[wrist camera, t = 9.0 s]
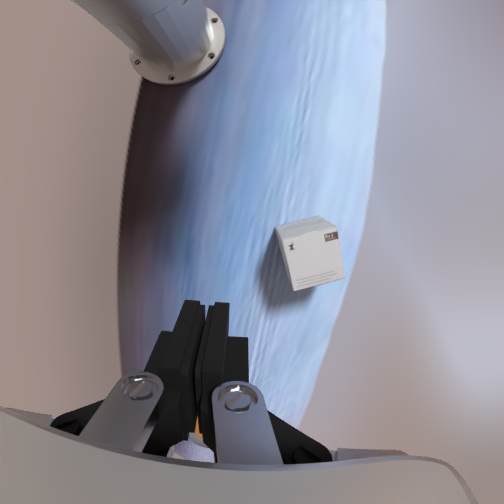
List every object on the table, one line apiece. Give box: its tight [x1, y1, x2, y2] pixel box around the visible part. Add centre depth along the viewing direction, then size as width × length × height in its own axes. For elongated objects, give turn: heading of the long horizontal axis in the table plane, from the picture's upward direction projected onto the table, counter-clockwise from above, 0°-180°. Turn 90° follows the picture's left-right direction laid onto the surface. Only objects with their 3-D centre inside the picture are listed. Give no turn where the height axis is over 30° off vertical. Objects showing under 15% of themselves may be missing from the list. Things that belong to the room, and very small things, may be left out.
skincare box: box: [275, 216, 345, 291], centre depth 34 cm, size 6×6×7 cm
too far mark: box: [189, 432, 208, 448], centre depth 48 cm, size 8×8×1 cm
